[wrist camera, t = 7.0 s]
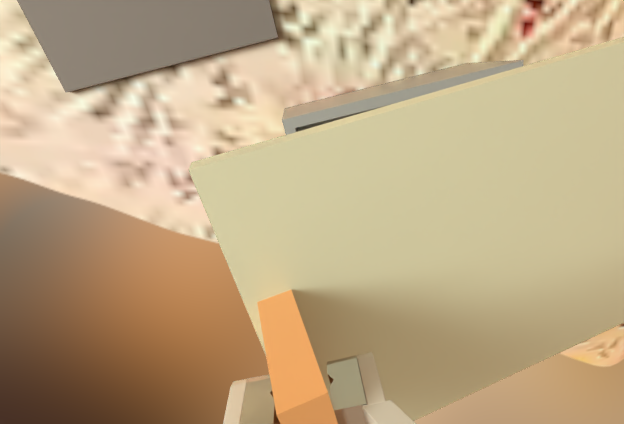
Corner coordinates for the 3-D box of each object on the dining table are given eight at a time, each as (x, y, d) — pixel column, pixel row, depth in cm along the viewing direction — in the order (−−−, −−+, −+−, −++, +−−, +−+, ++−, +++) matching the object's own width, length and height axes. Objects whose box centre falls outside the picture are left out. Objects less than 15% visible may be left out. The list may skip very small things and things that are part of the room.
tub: (467, 63, 30) (523, 60, 22) (469, 195, 36) (515, 227, 28) (284, 108, 31) (282, 119, 23) (316, 230, 36) (321, 270, 29)
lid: (633, 29, 13) (937, -17, 8) (587, 296, 19) (737, 380, 14) (194, 155, 10) (163, 230, 5) (301, 422, 16) (344, 595, 11)
